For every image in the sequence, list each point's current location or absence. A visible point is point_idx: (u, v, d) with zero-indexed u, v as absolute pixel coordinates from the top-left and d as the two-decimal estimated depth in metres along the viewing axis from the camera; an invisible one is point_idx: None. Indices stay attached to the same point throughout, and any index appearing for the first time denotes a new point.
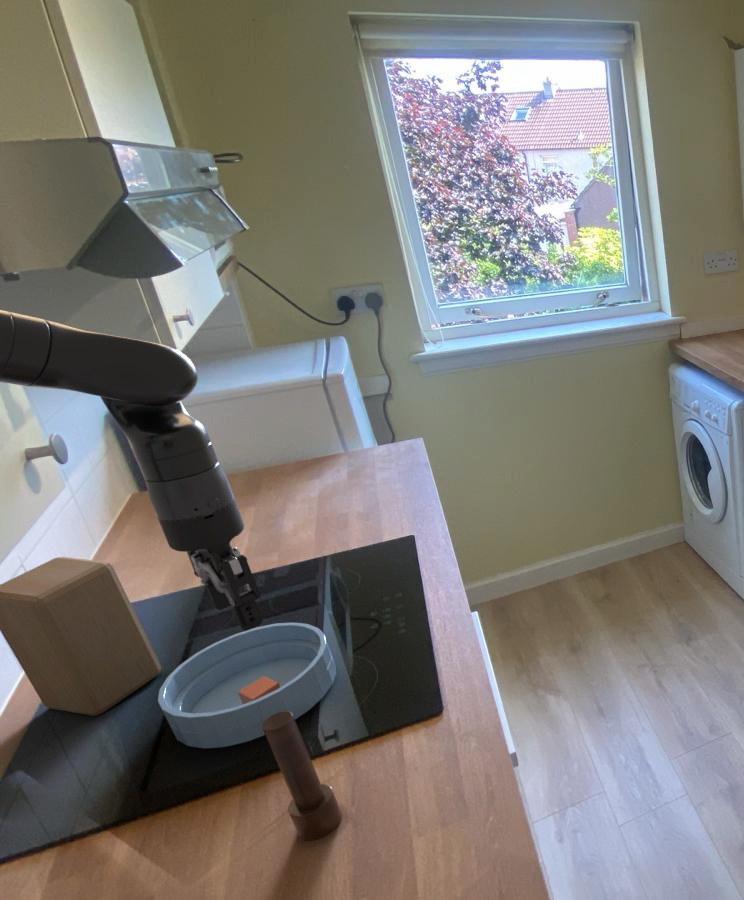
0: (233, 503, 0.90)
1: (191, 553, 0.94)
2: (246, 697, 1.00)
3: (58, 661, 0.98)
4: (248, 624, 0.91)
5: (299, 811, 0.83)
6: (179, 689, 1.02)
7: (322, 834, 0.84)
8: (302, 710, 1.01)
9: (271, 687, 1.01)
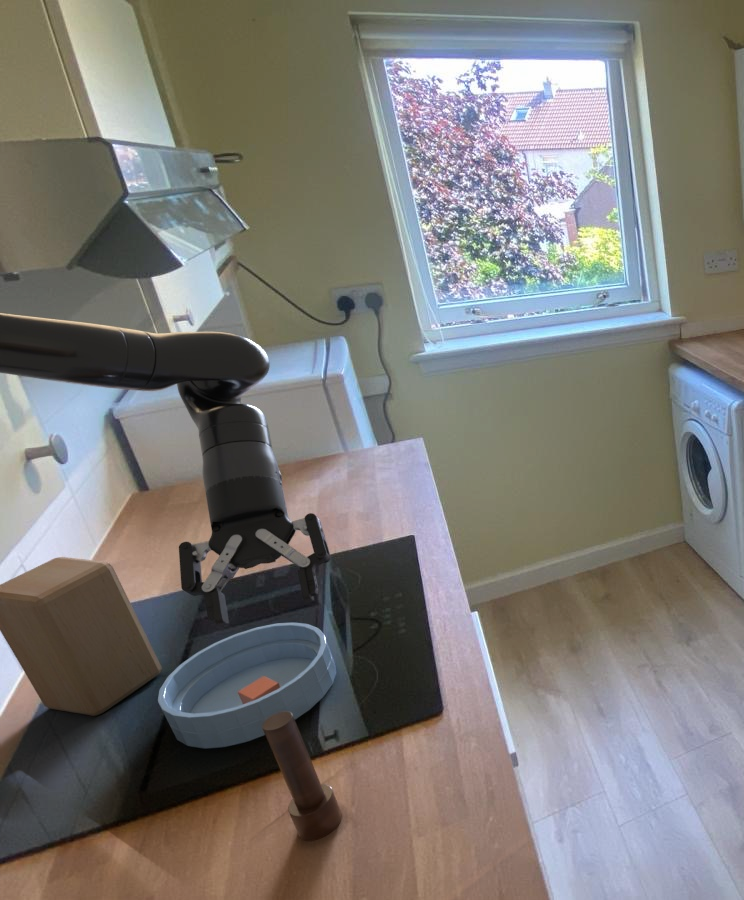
0: None
1: (193, 558, 0.84)
2: (246, 697, 1.00)
3: (58, 661, 0.98)
4: (315, 588, 0.88)
5: (299, 811, 0.83)
6: (179, 689, 1.02)
7: (322, 834, 0.84)
8: (302, 710, 1.01)
9: (271, 687, 1.01)
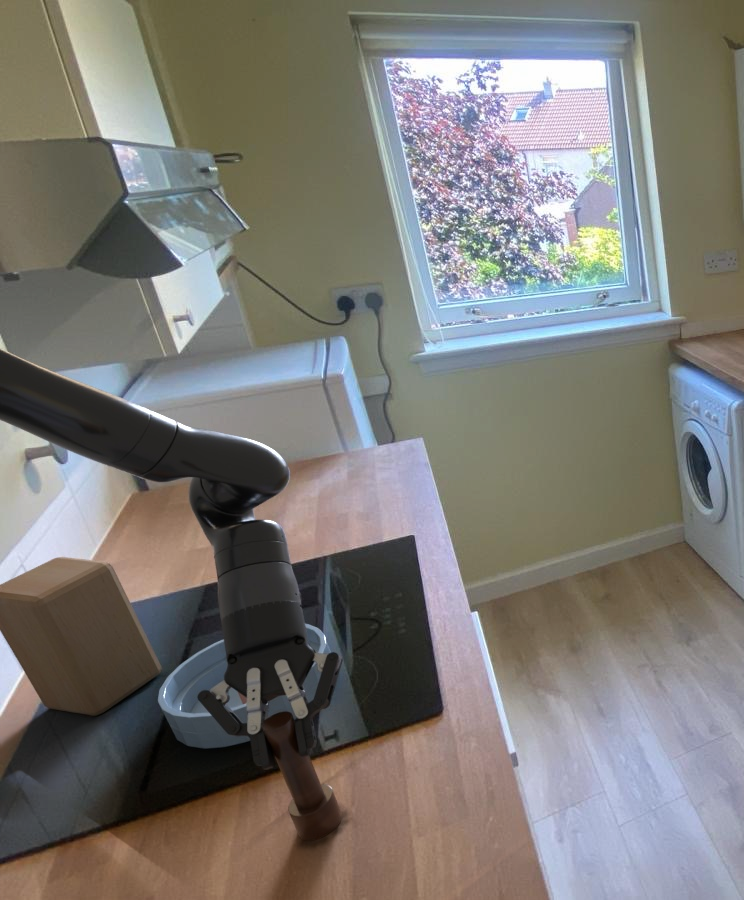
0: None
1: (220, 702, 0.78)
2: None
3: (58, 661, 0.98)
4: (313, 742, 0.80)
5: (299, 811, 0.83)
6: (179, 689, 1.02)
7: (322, 834, 0.84)
8: None
9: None
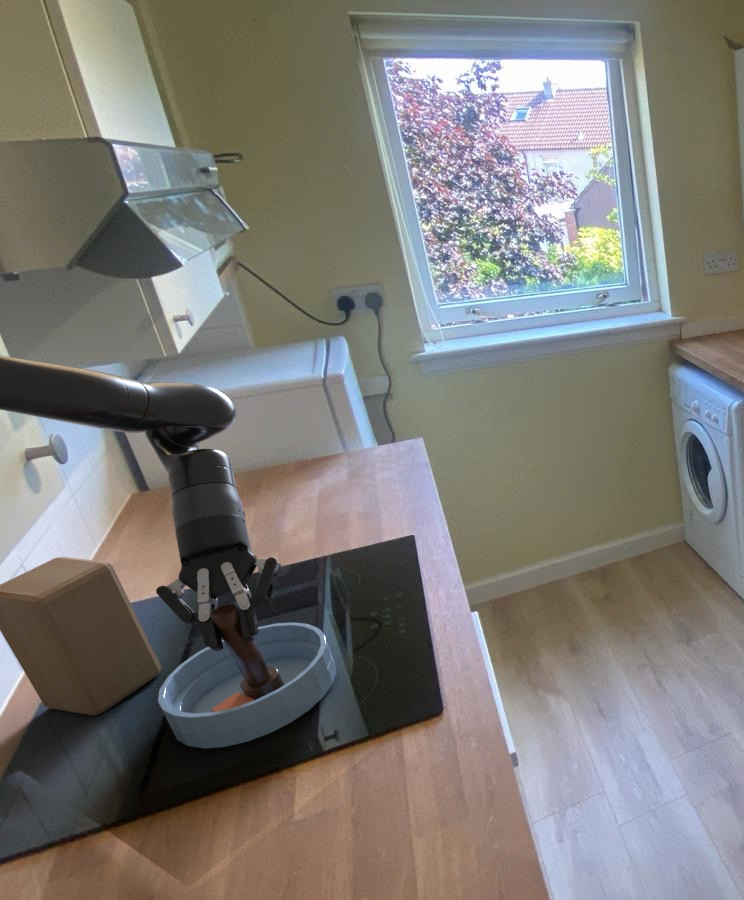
0: None
1: (175, 596, 0.95)
2: None
3: (58, 661, 0.98)
4: (255, 629, 0.96)
5: (249, 686, 1.00)
6: (179, 689, 1.02)
7: None
8: (302, 710, 1.01)
9: None
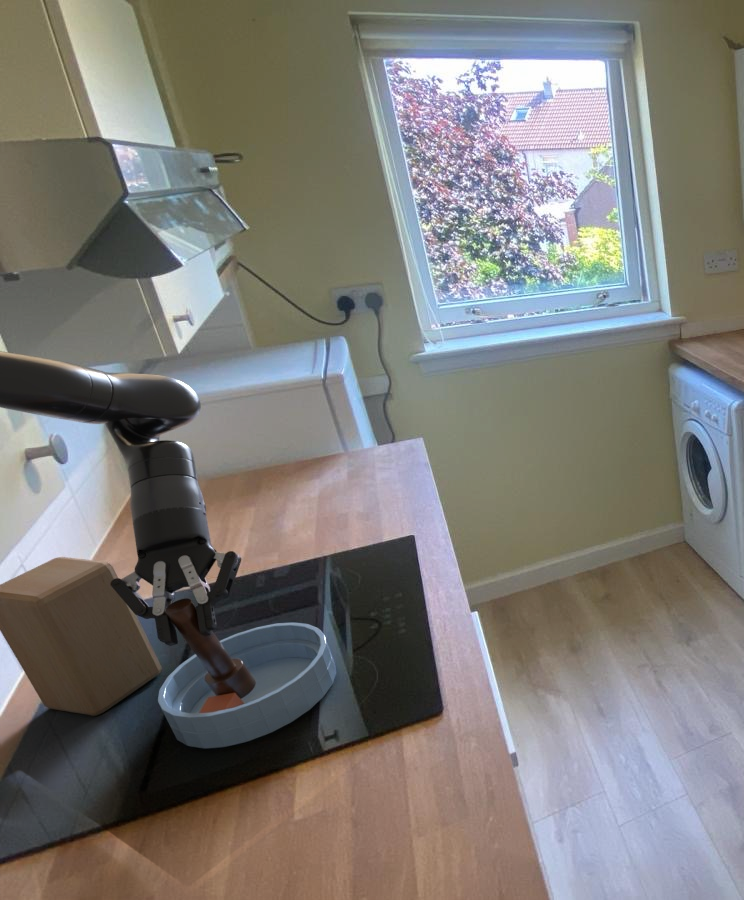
0: None
1: (130, 589, 0.93)
2: None
3: (58, 661, 0.98)
4: (213, 623, 0.95)
5: (213, 679, 0.99)
6: (179, 689, 1.02)
7: None
8: (302, 710, 1.01)
9: (232, 698, 0.99)
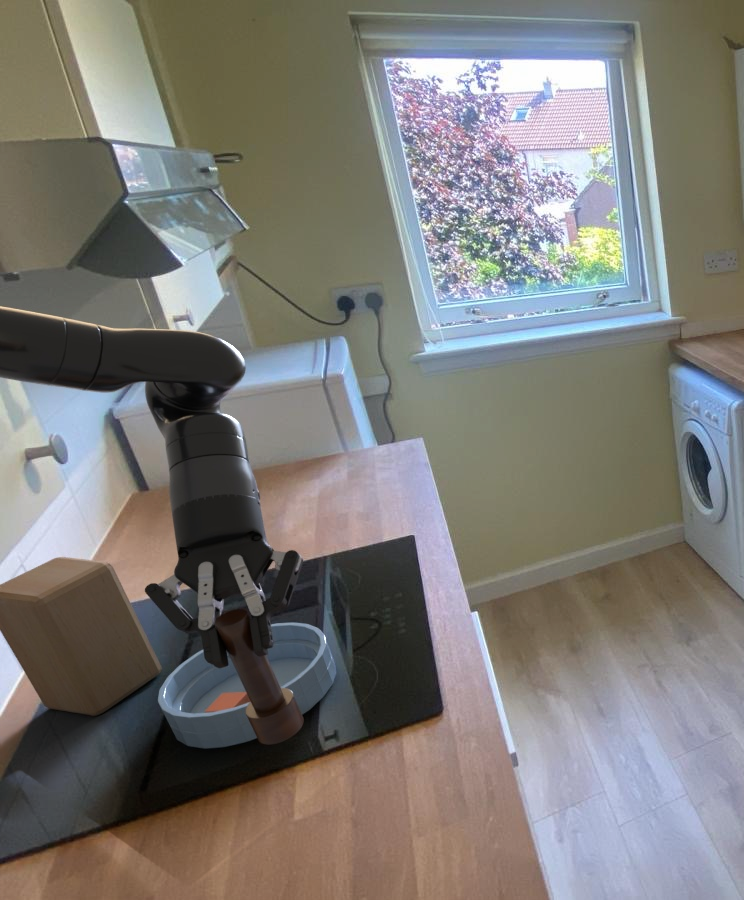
0: None
1: (169, 597, 0.74)
2: None
3: (58, 661, 0.98)
4: (270, 640, 0.76)
5: (256, 713, 0.79)
6: (179, 689, 1.02)
7: (279, 739, 0.80)
8: (302, 710, 1.01)
9: (243, 697, 1.00)
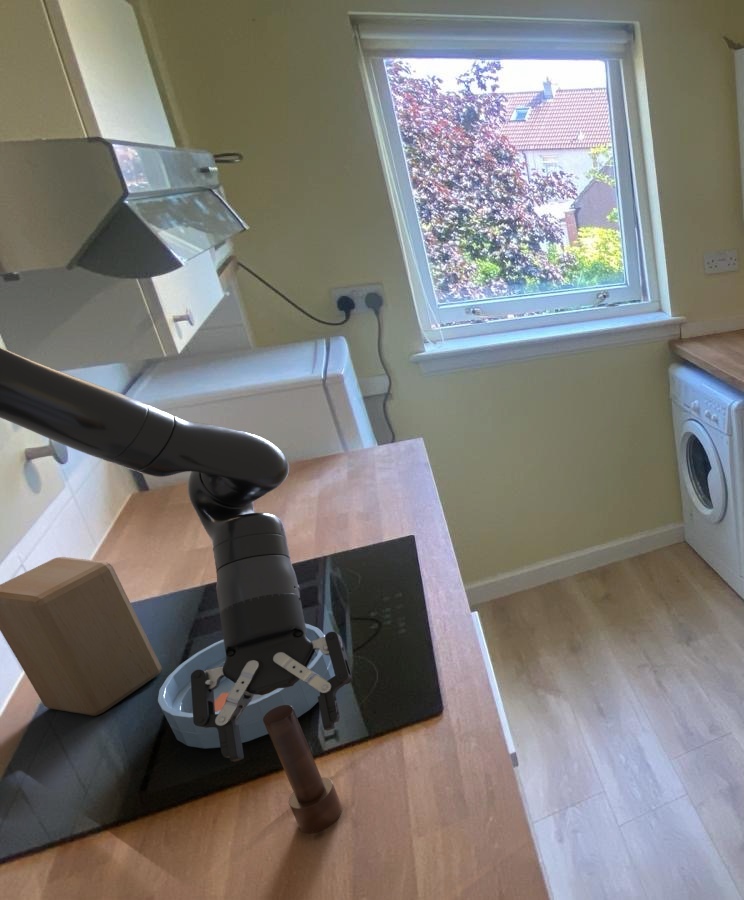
0: None
1: (206, 688, 0.78)
2: None
3: (58, 661, 0.98)
4: (337, 716, 0.82)
5: (299, 803, 0.84)
6: (179, 689, 1.02)
7: (320, 828, 0.85)
8: (302, 710, 1.01)
9: None
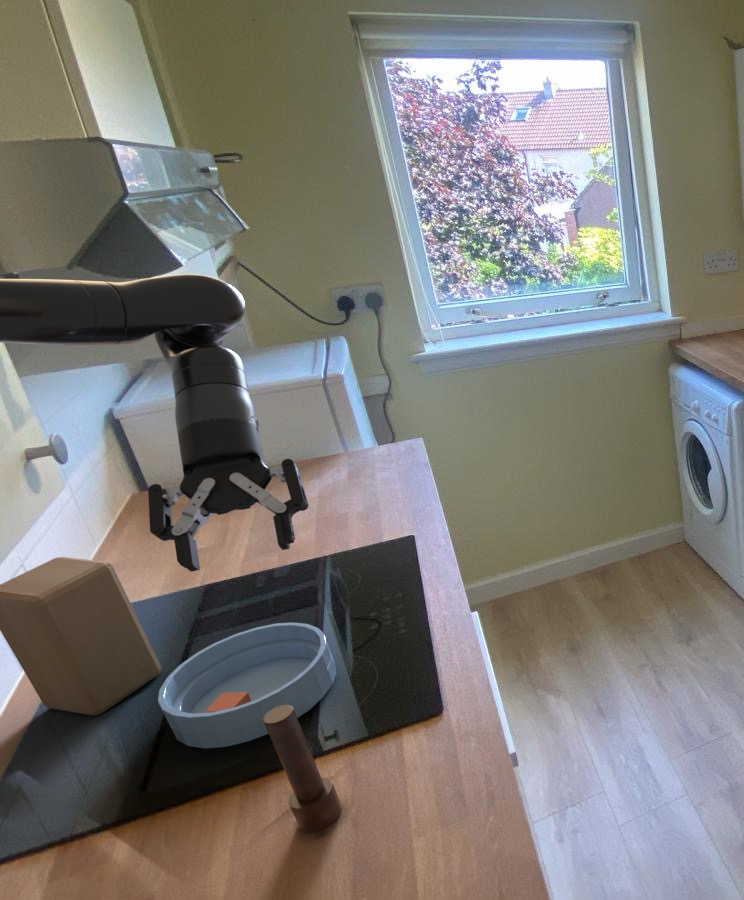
0: None
1: (163, 501, 0.81)
2: None
3: (58, 661, 0.98)
4: (292, 535, 0.84)
5: (299, 803, 0.84)
6: (179, 689, 1.02)
7: (320, 828, 0.85)
8: (302, 710, 1.01)
9: (243, 697, 1.00)
